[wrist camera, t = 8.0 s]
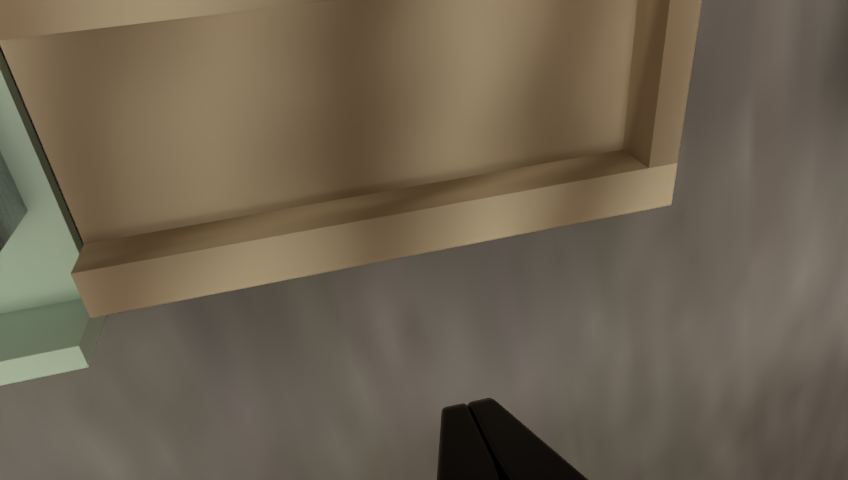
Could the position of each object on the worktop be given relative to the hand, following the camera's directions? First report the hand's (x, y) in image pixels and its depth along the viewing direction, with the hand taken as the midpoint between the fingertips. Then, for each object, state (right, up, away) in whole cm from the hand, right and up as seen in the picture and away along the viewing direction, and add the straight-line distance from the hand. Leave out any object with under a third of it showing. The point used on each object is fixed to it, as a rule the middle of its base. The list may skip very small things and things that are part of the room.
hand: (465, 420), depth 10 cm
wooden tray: (-2, +8, +9) cm, 12 cm away
